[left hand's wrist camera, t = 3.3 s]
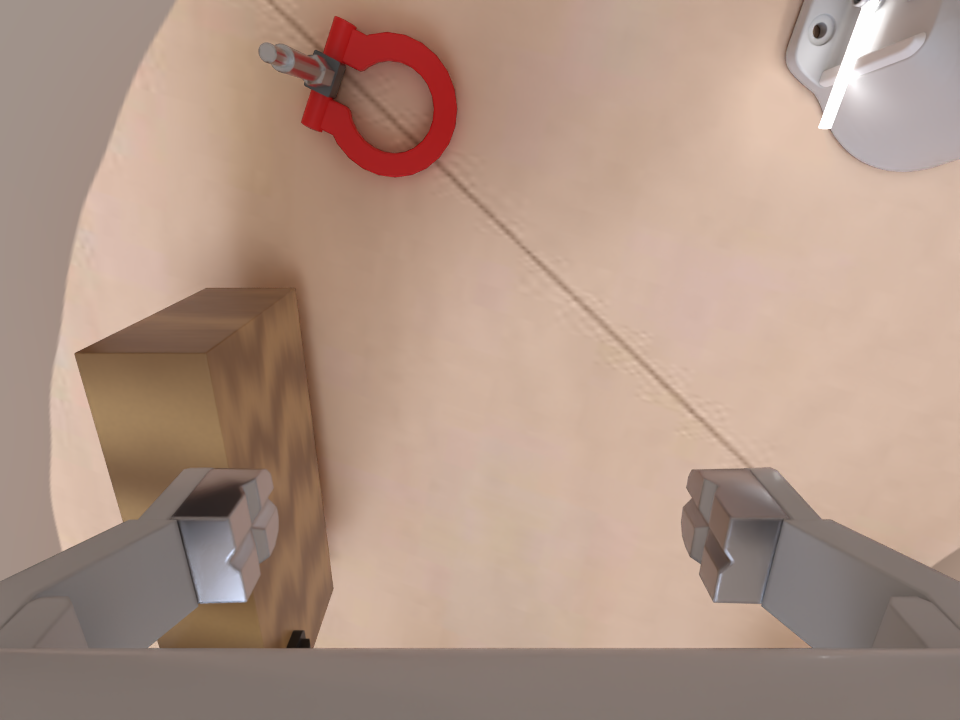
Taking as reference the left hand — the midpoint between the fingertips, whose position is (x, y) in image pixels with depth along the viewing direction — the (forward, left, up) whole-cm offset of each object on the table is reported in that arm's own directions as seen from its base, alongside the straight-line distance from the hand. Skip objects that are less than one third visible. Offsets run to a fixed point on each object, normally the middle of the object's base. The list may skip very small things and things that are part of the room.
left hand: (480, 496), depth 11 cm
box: (+16, -16, -27) cm, 35 cm away
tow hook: (-9, -6, -30) cm, 32 cm away
